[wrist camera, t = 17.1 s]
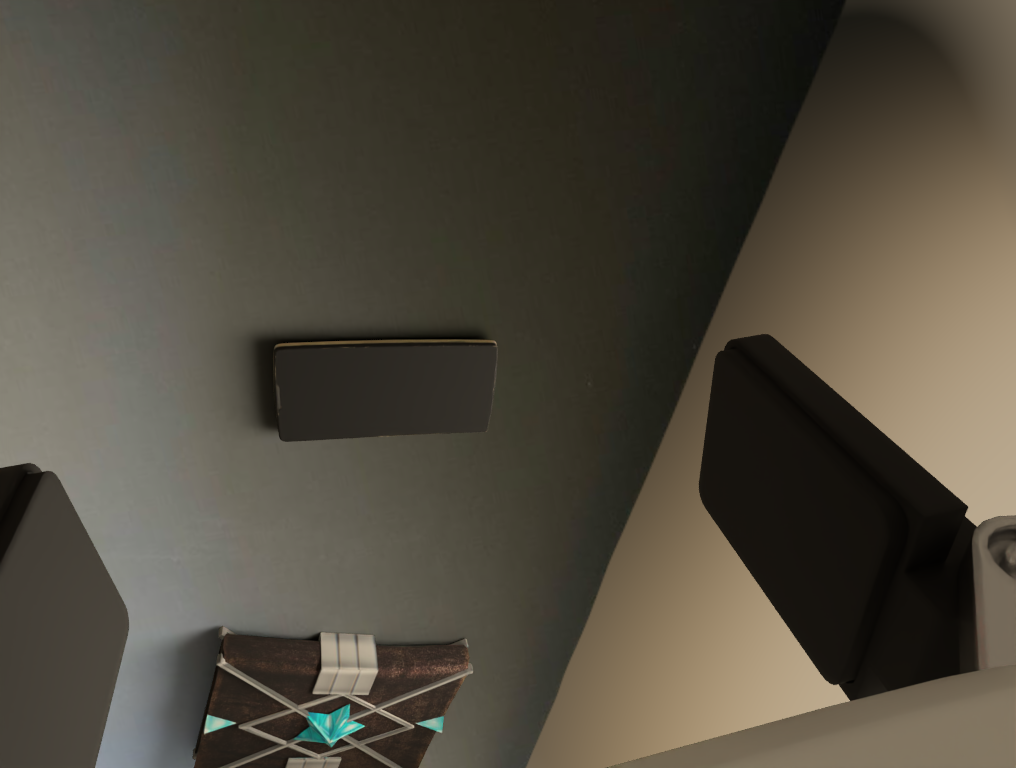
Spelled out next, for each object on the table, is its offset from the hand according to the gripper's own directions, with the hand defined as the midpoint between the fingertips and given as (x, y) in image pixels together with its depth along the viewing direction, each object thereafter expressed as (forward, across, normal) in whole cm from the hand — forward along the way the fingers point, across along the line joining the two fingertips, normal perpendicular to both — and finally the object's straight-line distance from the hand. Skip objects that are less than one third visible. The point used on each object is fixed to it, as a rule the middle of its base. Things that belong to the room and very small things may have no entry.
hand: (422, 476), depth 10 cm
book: (+34, +10, +52) cm, 63 cm away
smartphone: (+34, 0, +20) cm, 40 cm away
